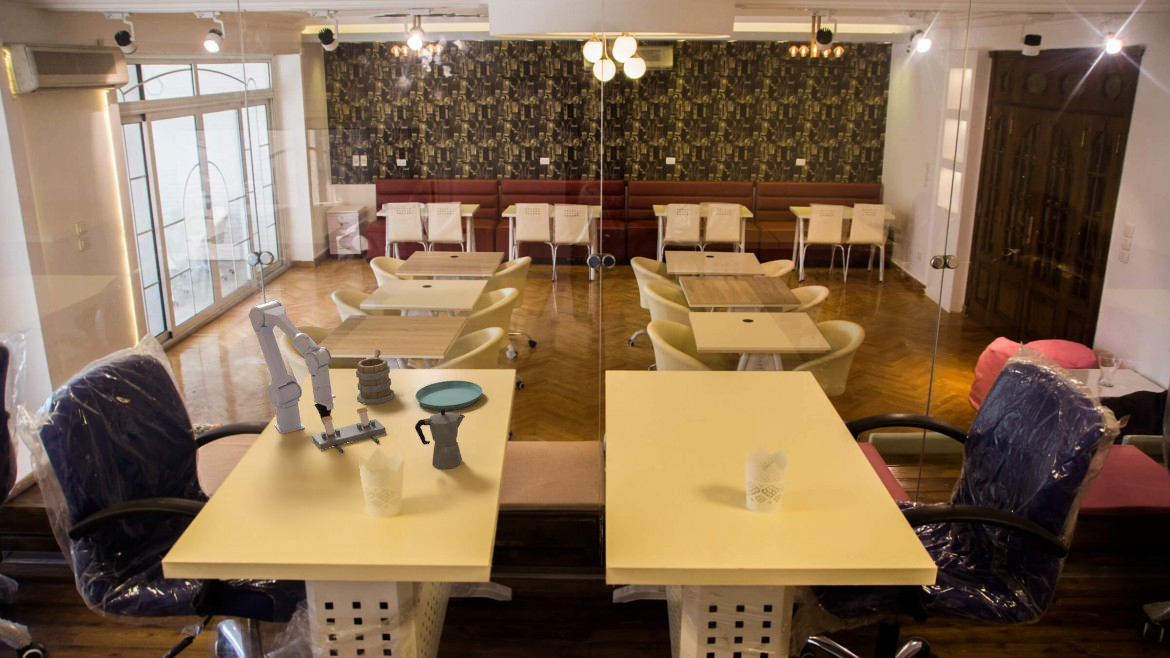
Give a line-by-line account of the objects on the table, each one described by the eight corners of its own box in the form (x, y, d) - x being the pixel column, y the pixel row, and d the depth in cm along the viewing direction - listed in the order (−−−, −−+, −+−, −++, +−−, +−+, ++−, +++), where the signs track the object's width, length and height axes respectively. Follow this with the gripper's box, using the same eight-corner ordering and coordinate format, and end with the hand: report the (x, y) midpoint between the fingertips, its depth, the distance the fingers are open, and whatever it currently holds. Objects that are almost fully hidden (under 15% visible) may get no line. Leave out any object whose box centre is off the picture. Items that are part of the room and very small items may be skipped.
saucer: (406, 412, 318) (405, 403, 317) (428, 387, 341) (428, 379, 340) (472, 414, 314) (471, 405, 313) (490, 389, 337) (489, 381, 336)
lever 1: (326, 437, 294) (321, 418, 295) (335, 434, 296) (330, 416, 296) (327, 436, 293) (322, 417, 293) (336, 434, 294) (331, 415, 295)
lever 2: (361, 428, 300) (356, 409, 301) (370, 426, 302) (365, 407, 303) (362, 427, 299) (357, 409, 300) (371, 425, 300) (366, 406, 301)
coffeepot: (464, 453, 283) (460, 400, 278) (471, 465, 274) (467, 410, 269) (416, 462, 278) (410, 408, 273) (421, 474, 270) (416, 419, 264)
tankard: (389, 403, 326) (385, 364, 321) (354, 404, 326) (350, 365, 321) (400, 384, 345) (396, 347, 340) (368, 385, 345) (363, 348, 341)
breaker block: (312, 440, 296) (311, 430, 295) (376, 424, 307) (375, 414, 306) (327, 457, 284) (326, 446, 282) (393, 439, 295) (392, 429, 294)
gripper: (340, 388, 289) (345, 427, 293) (326, 376, 300) (331, 413, 304) (319, 393, 285) (324, 432, 289) (305, 380, 297) (310, 418, 301)
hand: (326, 423), depth 297 cm, fingers closed, pressing on lever 1
